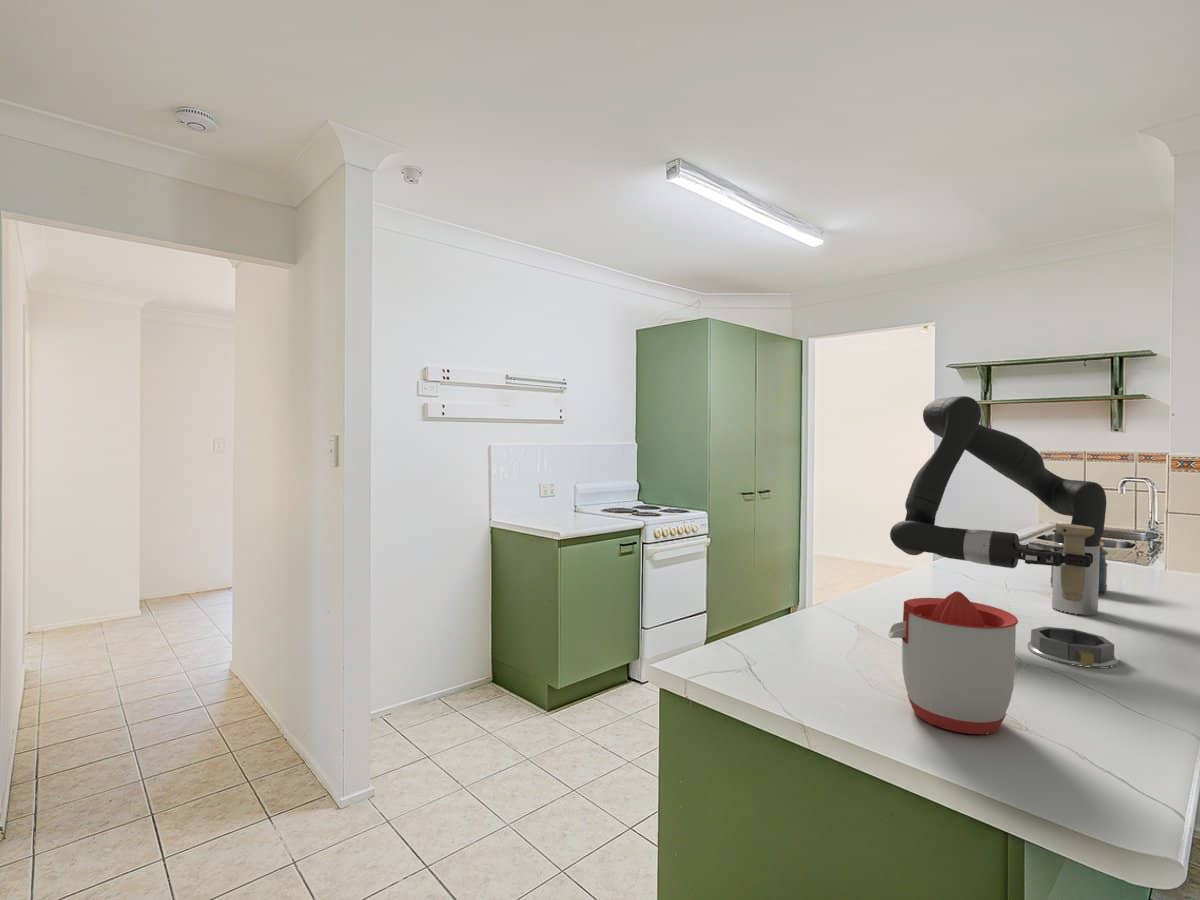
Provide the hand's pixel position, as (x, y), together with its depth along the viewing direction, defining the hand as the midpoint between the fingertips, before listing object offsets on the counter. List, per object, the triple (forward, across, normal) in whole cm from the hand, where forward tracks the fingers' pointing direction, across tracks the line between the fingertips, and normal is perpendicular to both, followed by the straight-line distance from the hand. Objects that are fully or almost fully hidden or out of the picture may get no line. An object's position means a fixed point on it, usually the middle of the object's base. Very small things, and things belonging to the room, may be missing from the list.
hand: (1091, 560), depth 121 cm
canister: (-8, +68, +20) cm, 71 cm away
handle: (-3, 0, +9) cm, 9 cm away
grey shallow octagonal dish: (-3, 0, +20) cm, 20 cm away
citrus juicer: (-13, -49, +20) cm, 54 cm away
